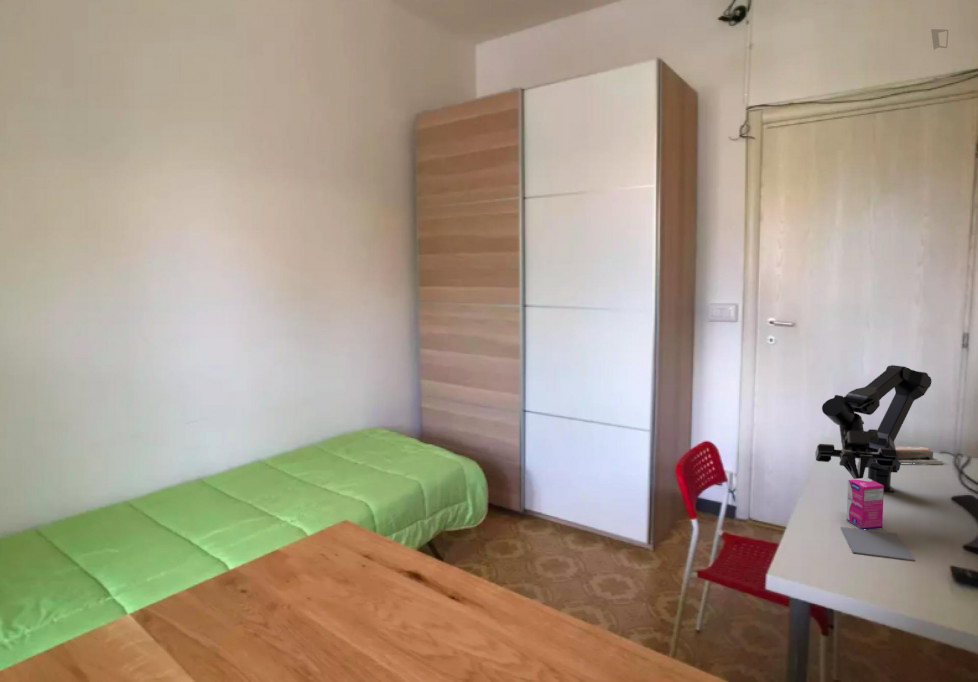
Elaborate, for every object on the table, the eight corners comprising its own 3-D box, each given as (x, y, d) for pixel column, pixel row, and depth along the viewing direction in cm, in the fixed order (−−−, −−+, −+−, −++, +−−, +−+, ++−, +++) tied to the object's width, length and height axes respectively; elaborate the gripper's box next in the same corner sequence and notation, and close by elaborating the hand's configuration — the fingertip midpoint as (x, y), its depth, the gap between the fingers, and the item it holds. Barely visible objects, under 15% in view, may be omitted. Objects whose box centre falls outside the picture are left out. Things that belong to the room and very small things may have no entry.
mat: (840, 528, 147) (840, 526, 147) (896, 534, 142) (896, 533, 142) (852, 553, 134) (852, 551, 134) (914, 560, 129) (914, 559, 129)
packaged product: (883, 451, 192) (867, 442, 202) (883, 465, 193) (867, 456, 202) (942, 451, 190) (923, 443, 200) (941, 466, 190) (922, 456, 200)
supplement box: (845, 520, 151) (847, 478, 149) (866, 519, 151) (868, 477, 150) (861, 530, 145) (863, 486, 144) (883, 528, 145) (885, 485, 144)
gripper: (818, 415, 160) (824, 466, 151) (898, 419, 153) (909, 473, 144) (812, 435, 168) (818, 485, 159) (888, 440, 161) (898, 492, 152)
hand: (859, 483), depth 153 cm, fingers closed
